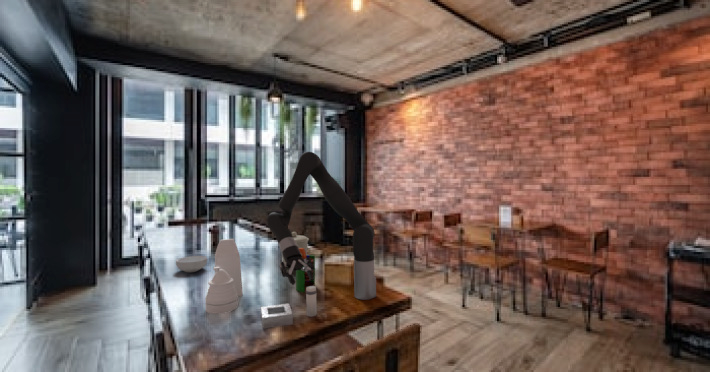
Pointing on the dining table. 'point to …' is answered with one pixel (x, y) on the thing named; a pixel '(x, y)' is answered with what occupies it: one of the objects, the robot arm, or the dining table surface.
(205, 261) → the cereal bowl
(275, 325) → the box
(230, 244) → the tall white vase
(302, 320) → the dining table surface
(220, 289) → the honey pot
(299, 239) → the canister
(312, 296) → the plug
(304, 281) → the motor
